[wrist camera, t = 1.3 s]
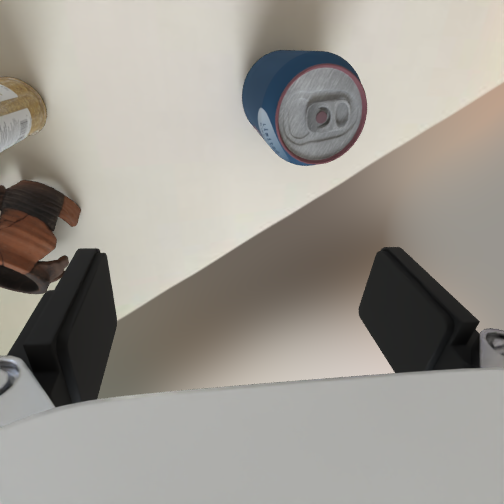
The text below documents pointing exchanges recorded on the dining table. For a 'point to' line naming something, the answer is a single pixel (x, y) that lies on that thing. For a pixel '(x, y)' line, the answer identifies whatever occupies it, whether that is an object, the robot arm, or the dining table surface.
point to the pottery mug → (31, 235)
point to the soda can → (305, 105)
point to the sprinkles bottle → (19, 111)
